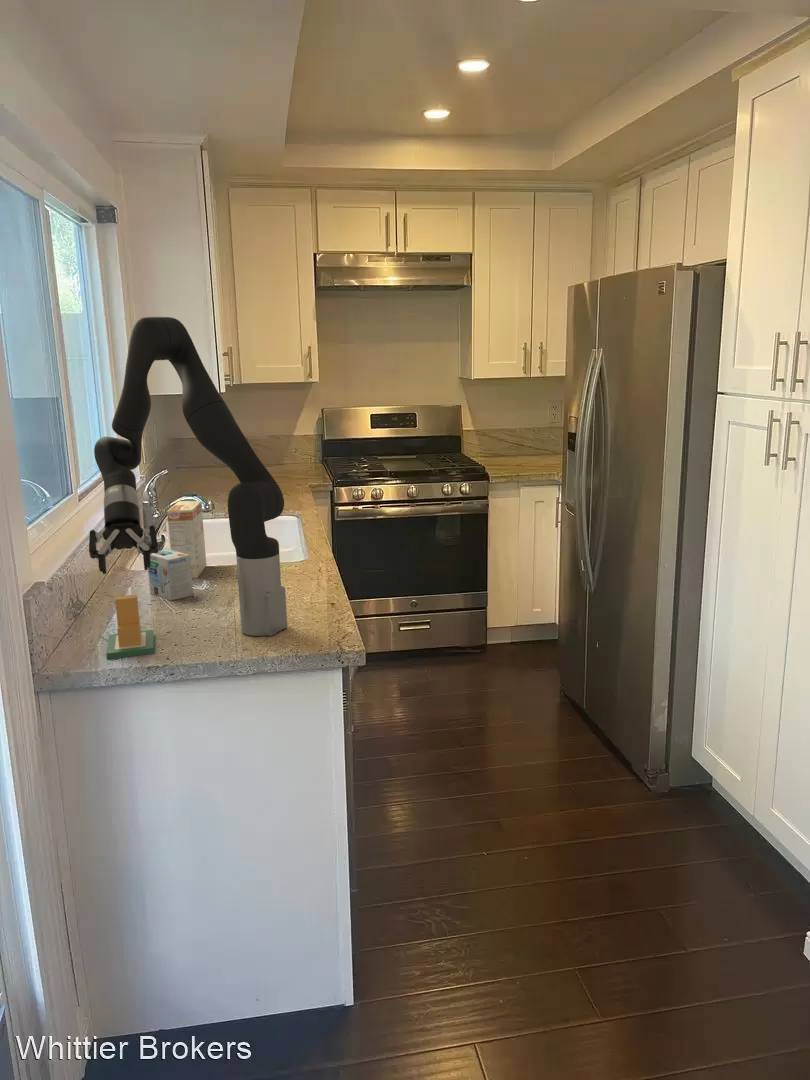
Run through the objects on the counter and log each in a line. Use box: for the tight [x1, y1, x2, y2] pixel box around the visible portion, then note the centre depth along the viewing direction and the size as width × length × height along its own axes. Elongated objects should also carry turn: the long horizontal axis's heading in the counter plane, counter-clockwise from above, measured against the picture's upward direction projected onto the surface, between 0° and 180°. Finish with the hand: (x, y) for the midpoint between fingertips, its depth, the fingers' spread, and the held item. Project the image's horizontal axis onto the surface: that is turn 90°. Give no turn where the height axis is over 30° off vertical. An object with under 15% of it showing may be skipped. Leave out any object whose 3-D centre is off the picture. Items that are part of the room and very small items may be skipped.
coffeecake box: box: [166, 500, 208, 580], centre depth 219 cm, size 15×7×20 cm, turn 4°
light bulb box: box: [147, 548, 194, 601], centre depth 199 cm, size 11×7×11 cm, turn 47°
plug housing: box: [114, 594, 142, 647], centre depth 162 cm, size 10×4×10 cm, turn 18°
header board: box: [106, 629, 155, 660], centre depth 162 cm, size 12×9×4 cm
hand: (125, 570), depth 167 cm, fingers open, 8 cm apart
